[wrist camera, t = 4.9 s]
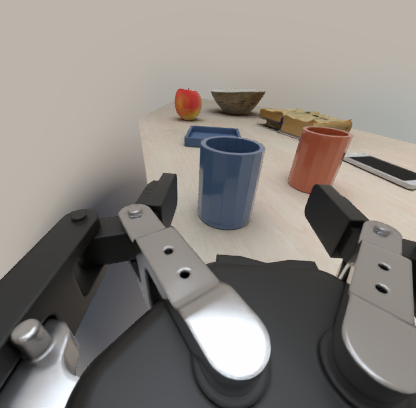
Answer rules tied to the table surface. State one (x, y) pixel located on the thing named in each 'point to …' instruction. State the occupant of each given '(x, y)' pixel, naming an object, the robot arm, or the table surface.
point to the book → (300, 121)
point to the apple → (188, 104)
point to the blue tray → (207, 134)
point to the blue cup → (228, 180)
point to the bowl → (237, 100)
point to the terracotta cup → (318, 157)
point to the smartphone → (383, 169)
